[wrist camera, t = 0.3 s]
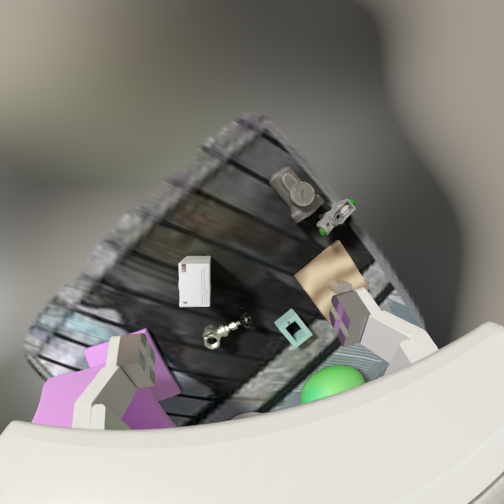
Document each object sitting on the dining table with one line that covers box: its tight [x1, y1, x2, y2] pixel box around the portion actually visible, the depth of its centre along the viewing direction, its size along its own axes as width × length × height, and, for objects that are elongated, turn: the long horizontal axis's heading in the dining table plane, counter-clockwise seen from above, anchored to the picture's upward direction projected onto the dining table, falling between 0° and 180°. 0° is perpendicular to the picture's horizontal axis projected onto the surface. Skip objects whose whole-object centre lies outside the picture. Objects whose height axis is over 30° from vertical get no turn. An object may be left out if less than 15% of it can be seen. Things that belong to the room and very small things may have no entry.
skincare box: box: [178, 256, 211, 307], centre depth 56 cm, size 8×6×15 cm
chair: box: [32, 328, 181, 430], centre depth 42 cm, size 22×22×45 cm
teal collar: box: [274, 309, 313, 348], centre depth 67 cm, size 7×5×4 cm
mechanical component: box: [317, 199, 356, 236], centre depth 62 cm, size 3×10×10 cm, turn 133°
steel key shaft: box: [327, 279, 352, 292], centre depth 65 cm, size 4×2×5 cm, turn 83°
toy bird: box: [301, 365, 365, 404], centre depth 65 cm, size 18×17×15 cm
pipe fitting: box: [270, 167, 324, 223], centre depth 61 cm, size 12×8×10 cm, turn 38°
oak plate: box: [294, 240, 369, 323], centre depth 68 cm, size 16×14×2 cm
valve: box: [203, 305, 256, 349], centre depth 63 cm, size 7×7×12 cm
